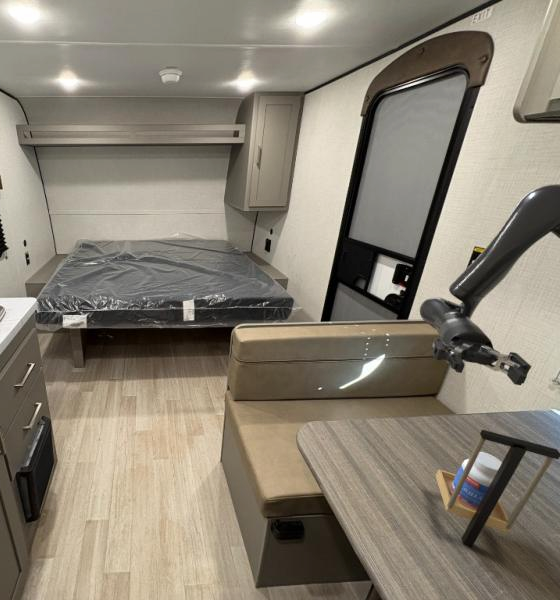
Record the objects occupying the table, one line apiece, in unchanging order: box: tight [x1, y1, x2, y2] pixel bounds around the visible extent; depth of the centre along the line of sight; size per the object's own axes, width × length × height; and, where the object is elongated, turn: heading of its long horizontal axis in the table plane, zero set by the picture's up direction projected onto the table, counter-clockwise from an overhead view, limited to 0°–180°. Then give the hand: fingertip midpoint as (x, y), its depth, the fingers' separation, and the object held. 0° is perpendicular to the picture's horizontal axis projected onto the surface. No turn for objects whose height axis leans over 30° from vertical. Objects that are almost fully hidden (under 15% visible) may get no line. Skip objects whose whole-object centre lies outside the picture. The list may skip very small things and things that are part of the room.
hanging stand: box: [435, 429, 560, 548], centre depth 57 cm, size 9×9×25 cm
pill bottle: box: [450, 451, 503, 510], centre depth 58 cm, size 6×5×10 cm
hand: (489, 374), depth 61 cm, fingers open, 8 cm apart
